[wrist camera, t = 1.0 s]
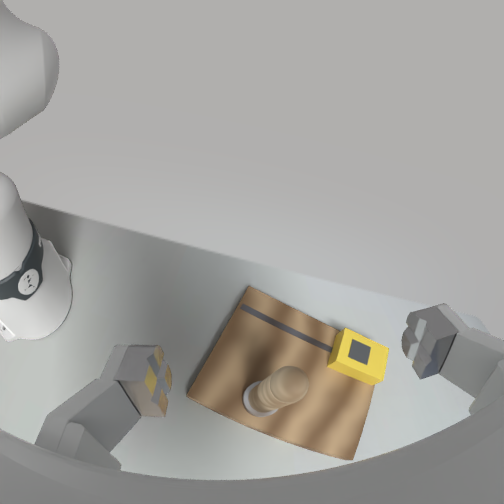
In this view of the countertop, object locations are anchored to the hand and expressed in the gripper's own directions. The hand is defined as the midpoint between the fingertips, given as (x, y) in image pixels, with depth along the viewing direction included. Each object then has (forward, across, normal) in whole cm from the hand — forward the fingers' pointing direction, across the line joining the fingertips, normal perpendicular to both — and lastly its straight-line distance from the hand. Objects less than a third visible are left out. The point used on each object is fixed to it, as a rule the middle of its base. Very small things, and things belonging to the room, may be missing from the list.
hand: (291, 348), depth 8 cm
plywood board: (+21, -4, +28) cm, 35 cm away
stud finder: (+23, -14, +28) cm, 39 cm away
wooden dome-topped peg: (+17, +2, +26) cm, 31 cm away
